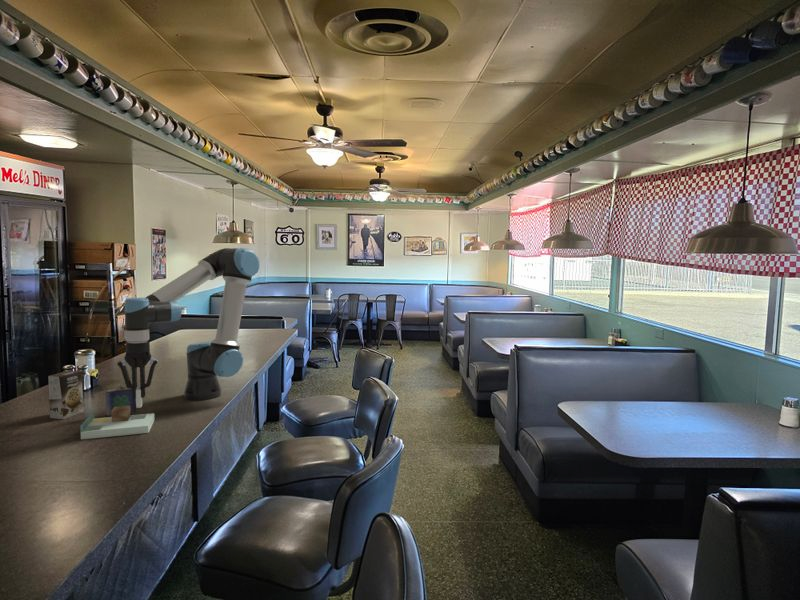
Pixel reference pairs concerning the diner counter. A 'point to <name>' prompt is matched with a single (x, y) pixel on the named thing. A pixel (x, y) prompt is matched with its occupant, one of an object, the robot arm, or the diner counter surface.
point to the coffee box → (65, 394)
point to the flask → (120, 399)
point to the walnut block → (120, 413)
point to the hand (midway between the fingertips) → (139, 406)
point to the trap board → (116, 426)
